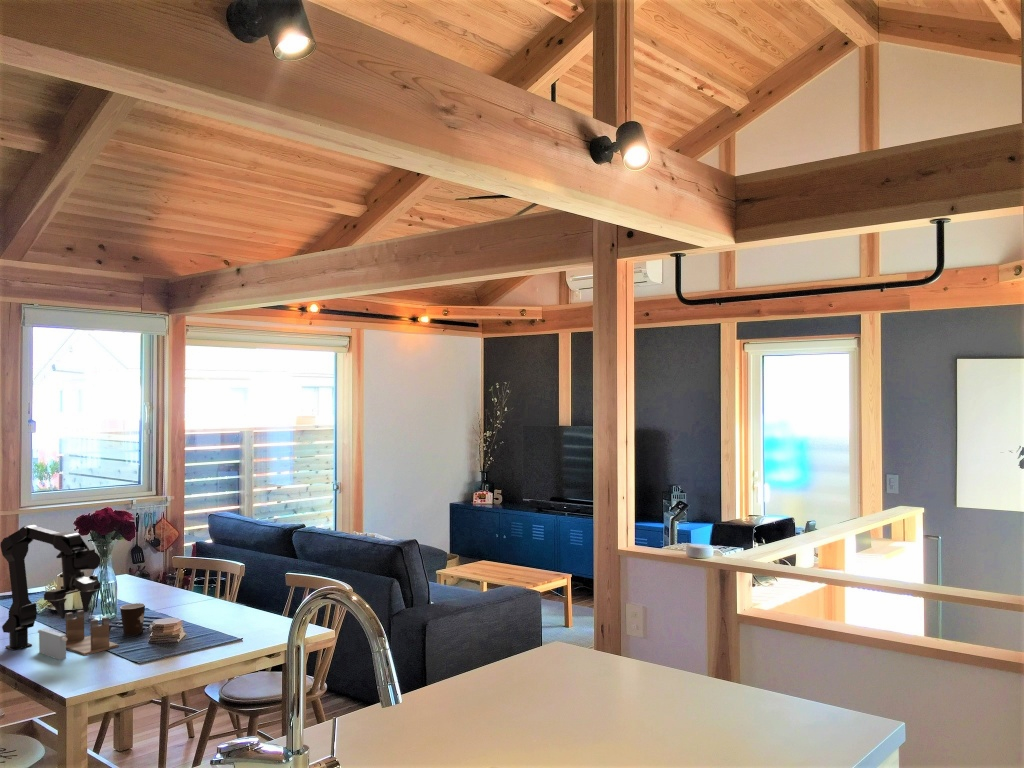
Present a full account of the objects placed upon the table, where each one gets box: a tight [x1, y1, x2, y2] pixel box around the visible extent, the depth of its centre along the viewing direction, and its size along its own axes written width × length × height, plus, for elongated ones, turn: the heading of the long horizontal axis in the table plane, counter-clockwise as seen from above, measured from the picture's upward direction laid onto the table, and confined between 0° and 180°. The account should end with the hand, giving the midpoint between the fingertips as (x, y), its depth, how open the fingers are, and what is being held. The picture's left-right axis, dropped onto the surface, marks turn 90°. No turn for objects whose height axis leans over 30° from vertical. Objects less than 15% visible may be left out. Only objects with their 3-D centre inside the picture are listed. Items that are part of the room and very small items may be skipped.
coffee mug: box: [119, 602, 146, 636], centre depth 314 cm, size 12×9×10 cm
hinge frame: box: [65, 609, 120, 656], centre depth 296 cm, size 20×12×11 cm, turn 53°
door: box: [37, 628, 67, 661], centre depth 287 cm, size 19×2×8 cm, turn 54°
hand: (74, 615), depth 290 cm, fingers open, 9 cm apart
